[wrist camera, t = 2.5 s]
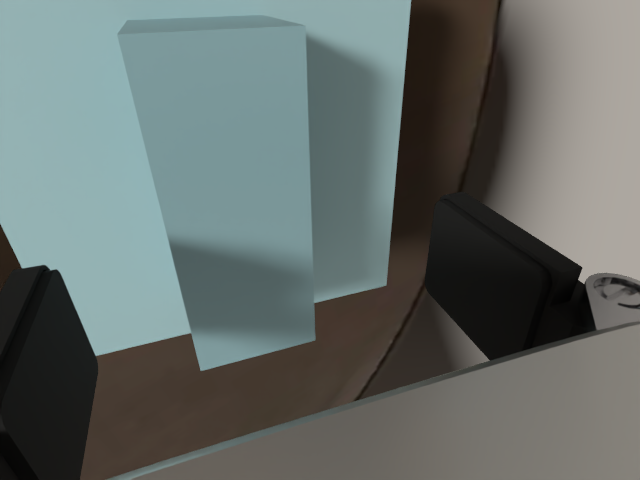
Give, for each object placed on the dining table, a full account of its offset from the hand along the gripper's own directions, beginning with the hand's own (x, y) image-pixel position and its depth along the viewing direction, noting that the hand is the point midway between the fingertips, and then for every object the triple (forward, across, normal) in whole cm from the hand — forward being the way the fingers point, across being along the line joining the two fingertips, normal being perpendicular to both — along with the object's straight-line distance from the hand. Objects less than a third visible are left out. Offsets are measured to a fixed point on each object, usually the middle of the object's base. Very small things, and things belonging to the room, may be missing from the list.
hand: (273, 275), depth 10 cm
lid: (+8, +1, -1) cm, 8 cm away
